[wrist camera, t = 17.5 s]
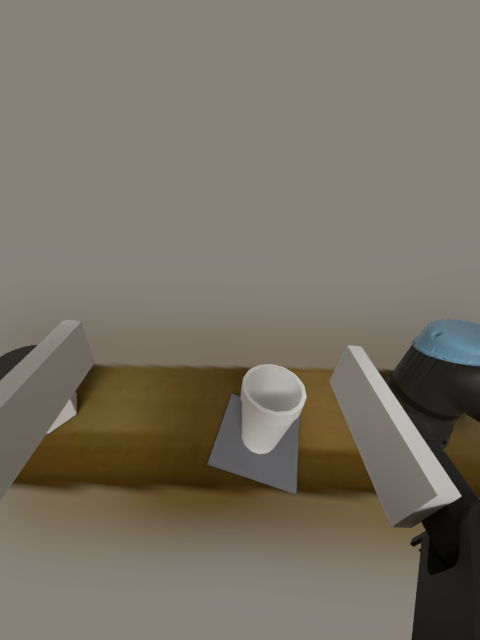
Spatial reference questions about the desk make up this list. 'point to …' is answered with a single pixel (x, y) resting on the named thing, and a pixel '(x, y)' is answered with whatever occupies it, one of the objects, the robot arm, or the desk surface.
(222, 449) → the charcoal mat
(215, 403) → the desk surface
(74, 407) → the jar
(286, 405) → the foam cup
